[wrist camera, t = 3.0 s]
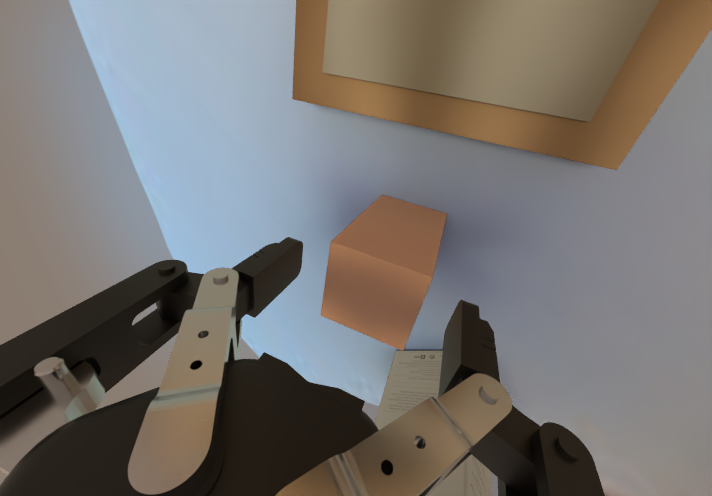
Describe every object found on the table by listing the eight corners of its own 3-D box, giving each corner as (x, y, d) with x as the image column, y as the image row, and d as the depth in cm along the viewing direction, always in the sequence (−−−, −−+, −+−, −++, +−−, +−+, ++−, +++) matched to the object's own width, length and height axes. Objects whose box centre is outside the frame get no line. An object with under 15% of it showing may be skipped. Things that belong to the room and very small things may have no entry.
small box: (395, 348, 24) (333, 543, 13) (469, 348, 21) (468, 600, 10) (420, 410, 26) (385, 617, 15) (489, 418, 23) (507, 681, 12)
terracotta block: (447, 213, 17) (432, 277, 10) (426, 269, 19) (403, 351, 13) (381, 194, 18) (330, 241, 11) (369, 249, 20) (320, 315, 14)
